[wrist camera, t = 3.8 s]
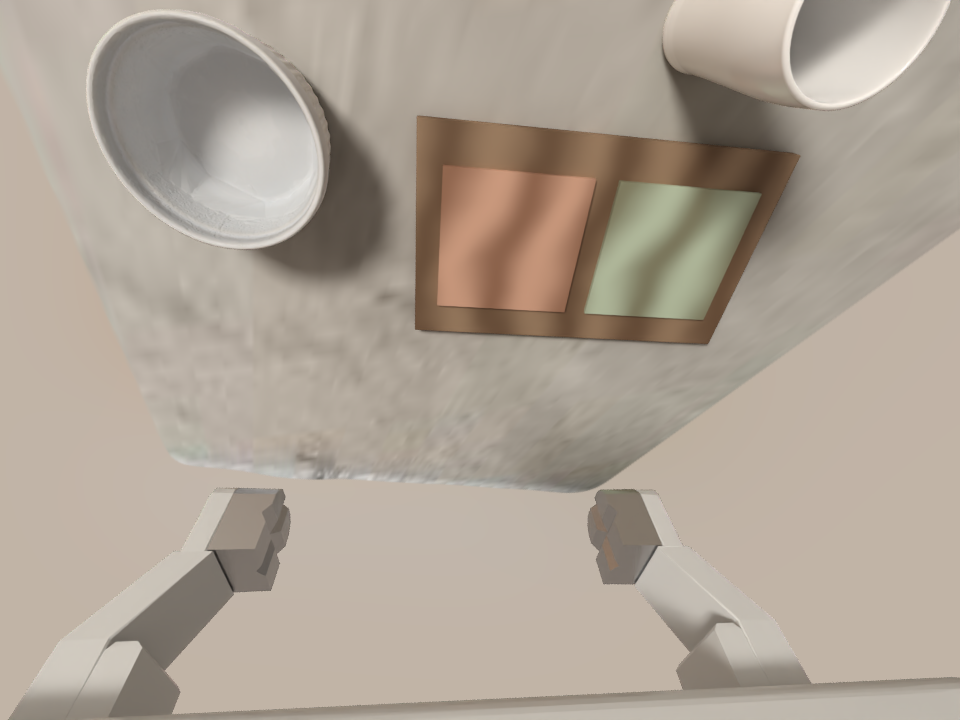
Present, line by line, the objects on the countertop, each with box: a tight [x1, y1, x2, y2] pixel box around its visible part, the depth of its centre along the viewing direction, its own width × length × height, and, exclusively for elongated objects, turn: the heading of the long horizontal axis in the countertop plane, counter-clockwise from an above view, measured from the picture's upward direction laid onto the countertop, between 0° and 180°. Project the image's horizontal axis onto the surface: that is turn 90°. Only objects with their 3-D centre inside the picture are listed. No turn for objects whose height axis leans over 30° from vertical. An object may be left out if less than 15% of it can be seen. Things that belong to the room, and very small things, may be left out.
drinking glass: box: [662, 0, 951, 111], centre depth 24 cm, size 7×7×15 cm
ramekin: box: [86, 9, 331, 250], centre depth 29 cm, size 13×13×7 cm
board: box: [415, 116, 801, 344], centre depth 38 cm, size 30×18×1 cm, turn 85°
